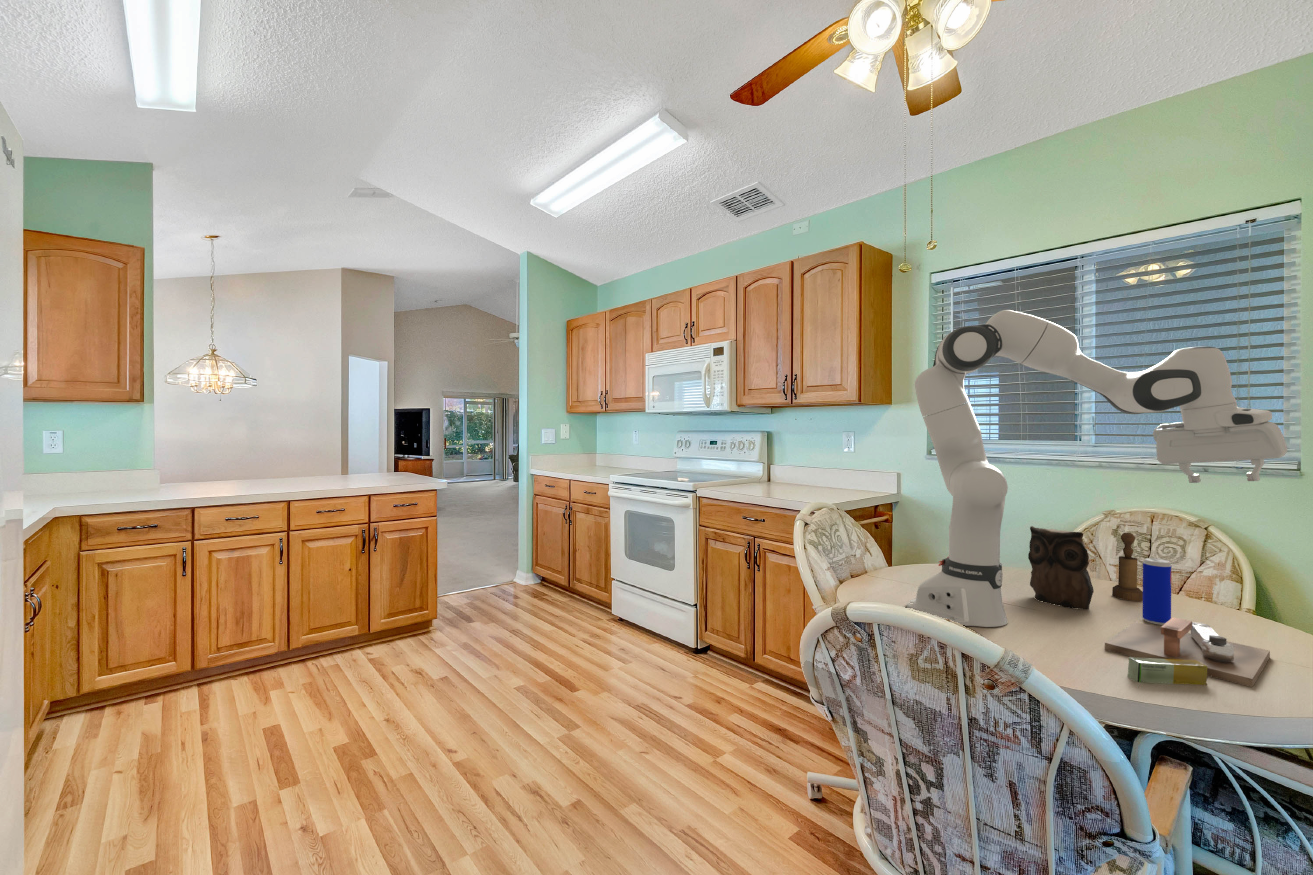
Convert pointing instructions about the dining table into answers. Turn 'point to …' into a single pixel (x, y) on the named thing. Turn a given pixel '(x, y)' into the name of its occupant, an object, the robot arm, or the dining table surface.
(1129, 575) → the brown wooden upright piece
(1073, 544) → the owl
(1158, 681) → the medication box
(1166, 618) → the beverage can
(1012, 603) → the dining table surface
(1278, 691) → the dining table surface
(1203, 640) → the steel link
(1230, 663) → the walnut base plate
